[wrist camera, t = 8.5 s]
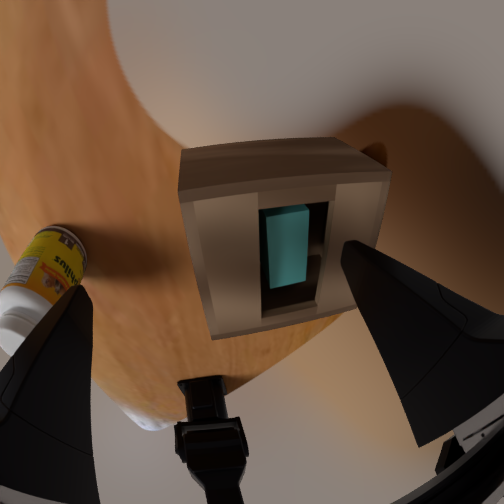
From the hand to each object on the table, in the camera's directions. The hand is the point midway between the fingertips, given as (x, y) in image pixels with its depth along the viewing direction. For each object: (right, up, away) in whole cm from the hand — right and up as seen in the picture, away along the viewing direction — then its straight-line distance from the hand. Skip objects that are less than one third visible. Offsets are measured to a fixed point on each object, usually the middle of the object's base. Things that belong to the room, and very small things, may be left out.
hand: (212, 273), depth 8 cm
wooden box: (+2, +4, +12) cm, 13 cm away
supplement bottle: (-15, +1, +10) cm, 18 cm away
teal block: (+2, +4, +12) cm, 13 cm away
